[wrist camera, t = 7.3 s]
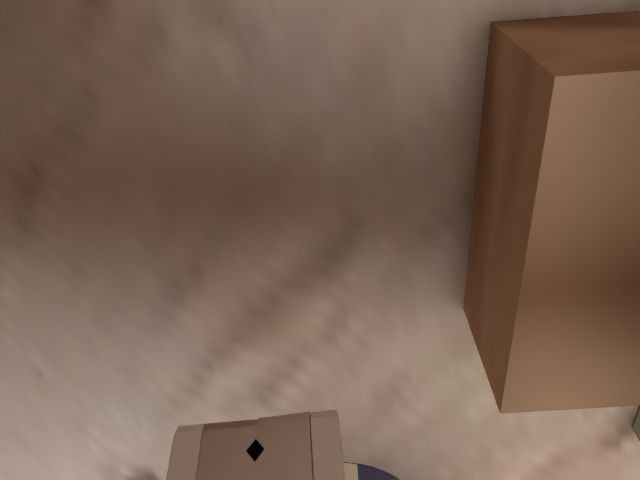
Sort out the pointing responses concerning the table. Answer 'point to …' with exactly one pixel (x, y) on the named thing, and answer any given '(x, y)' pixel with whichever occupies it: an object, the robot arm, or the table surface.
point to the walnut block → (559, 214)
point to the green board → (637, 425)
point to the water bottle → (365, 473)
